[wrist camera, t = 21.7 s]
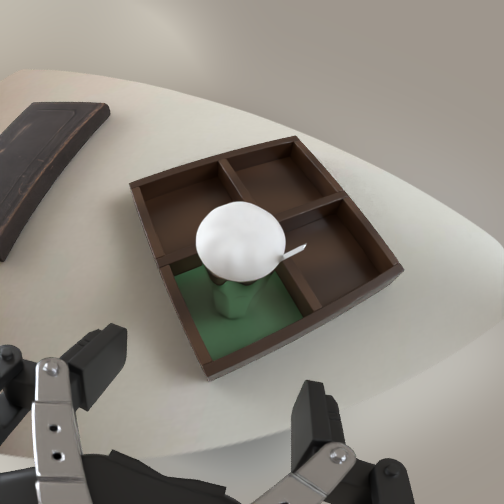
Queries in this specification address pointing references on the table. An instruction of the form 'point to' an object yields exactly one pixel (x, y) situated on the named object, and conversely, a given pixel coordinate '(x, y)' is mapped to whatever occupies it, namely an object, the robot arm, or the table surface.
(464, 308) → the table surface
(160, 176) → the grid
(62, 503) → the robot arm
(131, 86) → the table surface
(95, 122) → the hardcover book
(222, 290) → the milkshake
